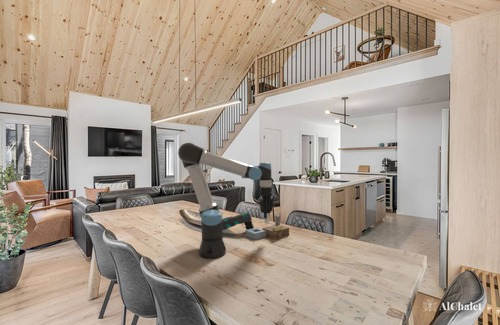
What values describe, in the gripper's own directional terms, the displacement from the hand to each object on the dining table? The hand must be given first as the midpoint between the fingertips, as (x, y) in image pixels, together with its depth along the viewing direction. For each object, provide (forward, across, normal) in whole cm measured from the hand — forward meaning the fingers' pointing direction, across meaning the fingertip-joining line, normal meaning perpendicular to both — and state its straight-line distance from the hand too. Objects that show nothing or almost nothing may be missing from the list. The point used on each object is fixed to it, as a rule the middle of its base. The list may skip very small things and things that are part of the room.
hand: (267, 223), depth 156 cm
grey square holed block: (+12, 0, +12) cm, 17 cm away
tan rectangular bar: (+6, +10, 0) cm, 12 cm away
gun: (+12, -6, +31) cm, 34 cm away
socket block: (+12, +12, +5) cm, 18 cm away
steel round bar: (+12, +14, +5) cm, 19 cm away
